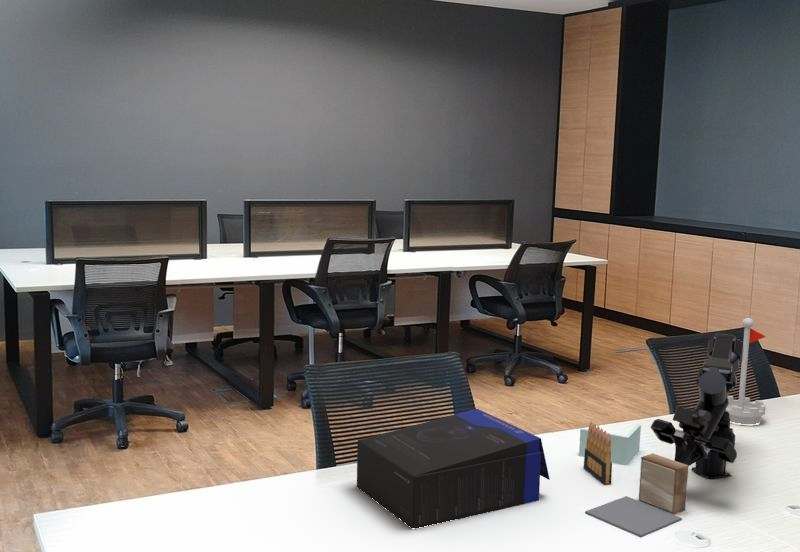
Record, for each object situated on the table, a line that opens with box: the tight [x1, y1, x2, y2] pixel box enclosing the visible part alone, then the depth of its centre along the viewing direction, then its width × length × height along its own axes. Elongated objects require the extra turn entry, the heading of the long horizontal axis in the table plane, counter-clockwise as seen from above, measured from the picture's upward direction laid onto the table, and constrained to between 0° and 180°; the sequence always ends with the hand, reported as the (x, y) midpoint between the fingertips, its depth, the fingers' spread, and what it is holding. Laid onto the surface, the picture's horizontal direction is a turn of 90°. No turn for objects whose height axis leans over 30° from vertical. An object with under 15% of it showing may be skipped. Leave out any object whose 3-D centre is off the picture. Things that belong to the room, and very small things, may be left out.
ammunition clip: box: [583, 420, 613, 486], centre depth 201 cm, size 11×2×12 cm, turn 14°
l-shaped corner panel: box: [578, 423, 642, 466], centre depth 217 cm, size 12×12×8 cm
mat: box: [584, 495, 683, 538], centre depth 180 cm, size 14×14×1 cm
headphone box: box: [356, 408, 551, 529], centre depth 189 cm, size 25×35×14 cm
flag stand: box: [726, 317, 767, 424], centre depth 246 cm, size 13×13×30 cm
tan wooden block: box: [638, 453, 690, 515], centre depth 185 cm, size 4×9×10 cm, turn 38°
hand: (675, 471), depth 187 cm, fingers closed
